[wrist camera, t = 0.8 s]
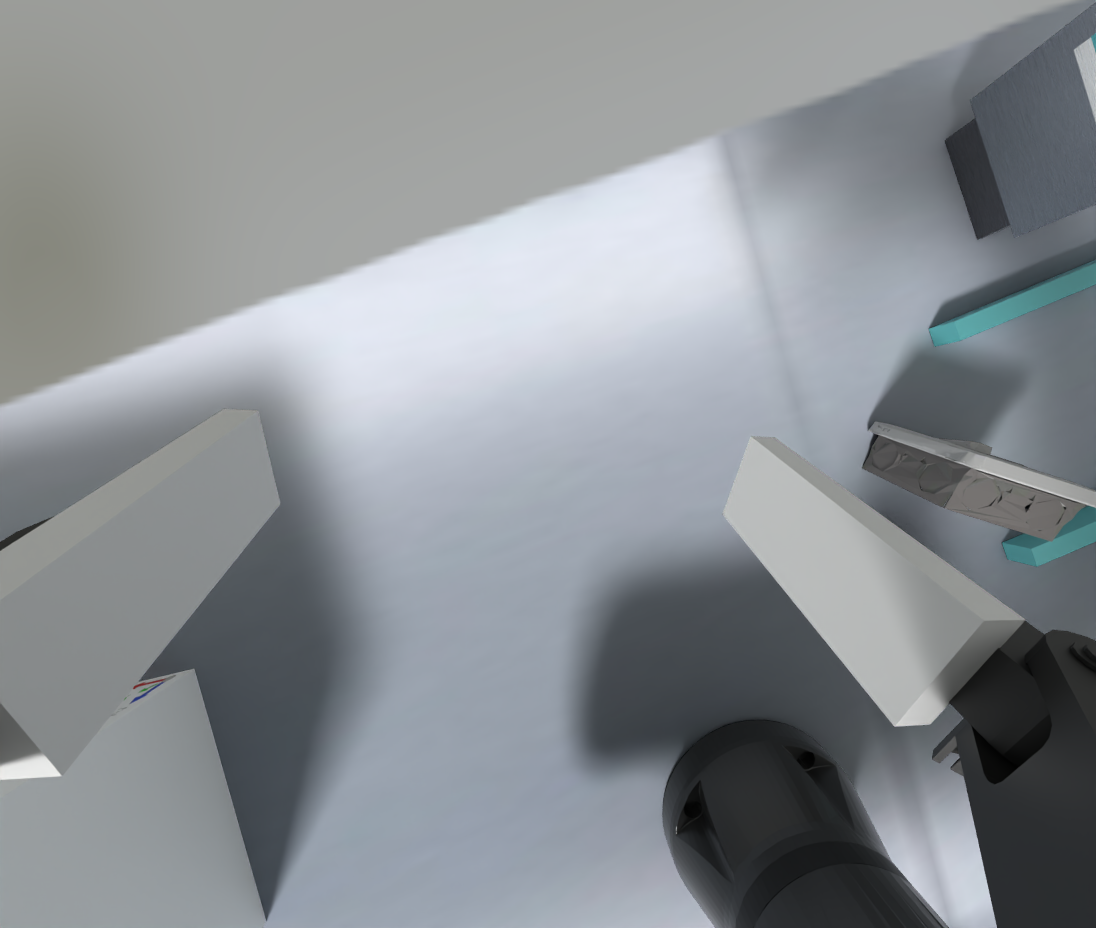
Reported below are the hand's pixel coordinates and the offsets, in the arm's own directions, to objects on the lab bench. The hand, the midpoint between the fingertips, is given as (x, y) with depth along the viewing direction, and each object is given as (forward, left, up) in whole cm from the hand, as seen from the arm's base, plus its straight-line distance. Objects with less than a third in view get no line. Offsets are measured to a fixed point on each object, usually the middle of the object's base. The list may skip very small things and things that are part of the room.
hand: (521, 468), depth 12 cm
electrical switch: (-13, -28, -21) cm, 37 cm away
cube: (-14, +44, -21) cm, 51 cm away
